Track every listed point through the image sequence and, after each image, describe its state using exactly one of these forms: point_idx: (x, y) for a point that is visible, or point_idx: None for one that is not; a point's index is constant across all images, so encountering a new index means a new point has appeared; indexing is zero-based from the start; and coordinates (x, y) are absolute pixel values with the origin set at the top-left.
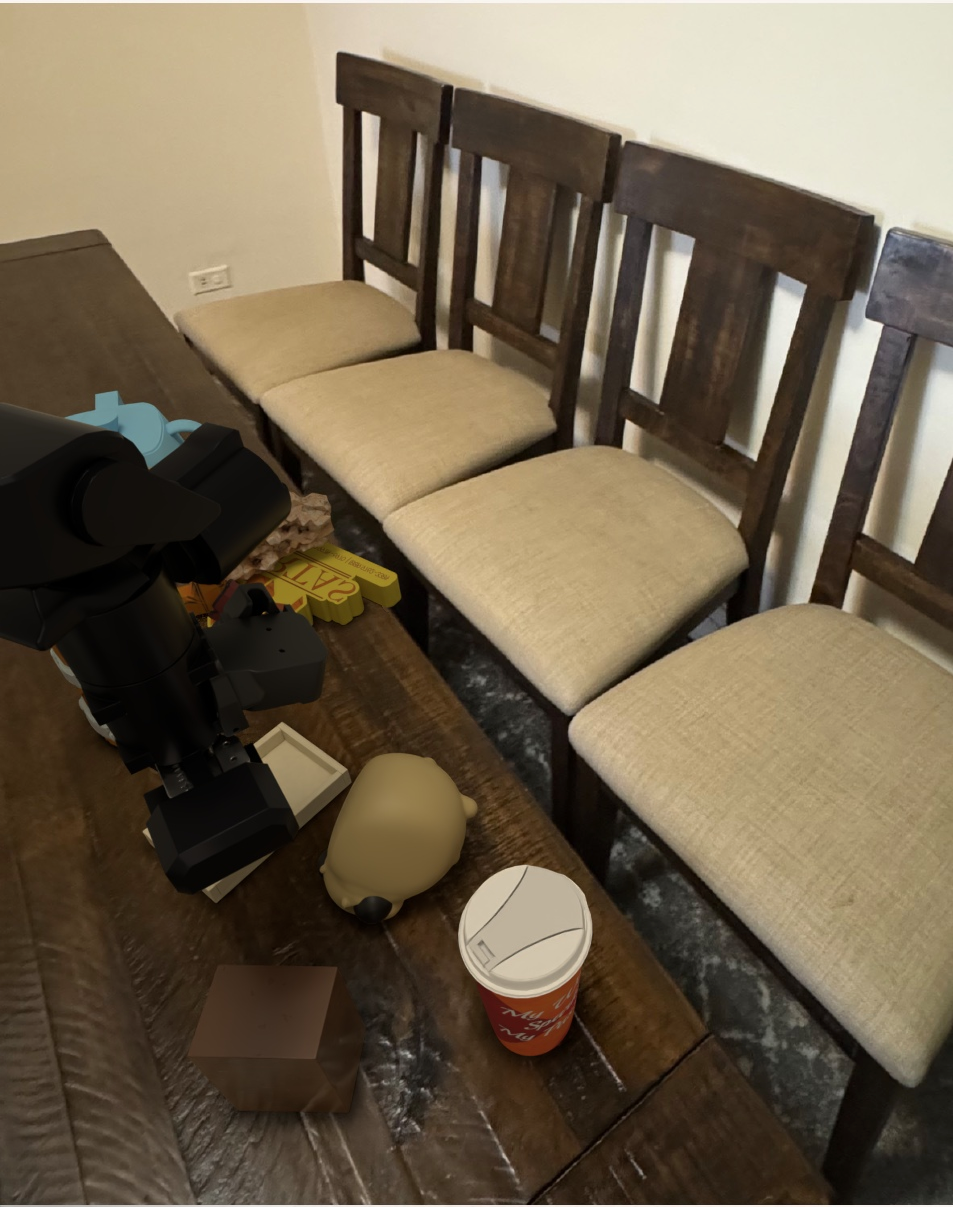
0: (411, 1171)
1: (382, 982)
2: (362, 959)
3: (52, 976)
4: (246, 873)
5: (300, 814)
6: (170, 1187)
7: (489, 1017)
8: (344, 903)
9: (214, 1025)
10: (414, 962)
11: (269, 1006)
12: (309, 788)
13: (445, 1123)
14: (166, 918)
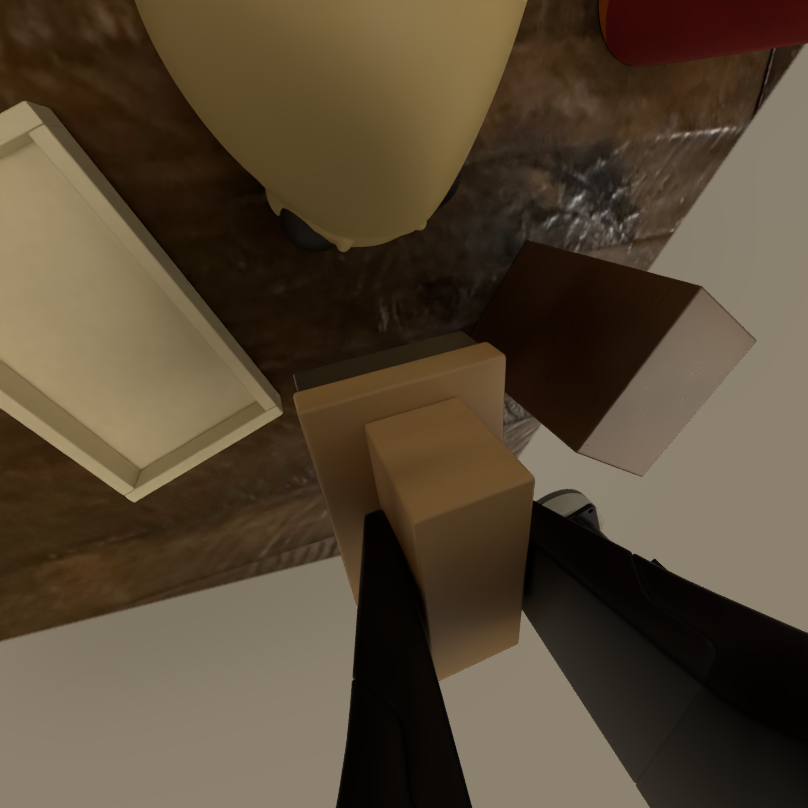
0: (655, 235)
1: (490, 200)
2: (448, 218)
3: (306, 537)
4: (247, 356)
5: (156, 255)
6: (533, 428)
7: (717, 56)
8: (424, 225)
9: (637, 452)
10: (492, 141)
11: (669, 390)
12: (60, 217)
13: (652, 183)
14: (278, 449)
